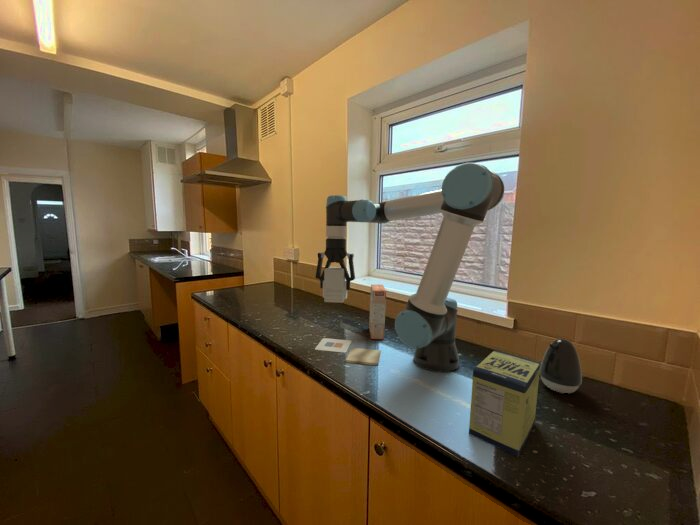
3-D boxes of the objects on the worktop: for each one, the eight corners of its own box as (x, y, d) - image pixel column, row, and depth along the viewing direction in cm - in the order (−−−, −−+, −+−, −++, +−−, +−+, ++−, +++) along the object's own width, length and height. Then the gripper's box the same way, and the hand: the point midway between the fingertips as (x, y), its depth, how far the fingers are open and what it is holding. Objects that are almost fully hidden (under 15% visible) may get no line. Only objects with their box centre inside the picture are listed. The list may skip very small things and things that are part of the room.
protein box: (535, 423, 72) (541, 361, 71) (519, 458, 61) (526, 386, 59) (489, 405, 79) (494, 348, 77) (467, 434, 68) (472, 368, 66)
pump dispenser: (529, 383, 91) (534, 335, 90) (553, 378, 95) (558, 331, 93) (563, 401, 82) (569, 347, 80) (588, 394, 86) (594, 343, 84)
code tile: (351, 341, 122) (351, 340, 122) (345, 352, 110) (345, 352, 110) (323, 338, 124) (323, 338, 124) (314, 349, 112) (314, 349, 112)
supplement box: (345, 298, 118) (346, 266, 117) (343, 303, 111) (343, 269, 110) (326, 297, 119) (327, 266, 118) (323, 302, 112) (324, 268, 110)
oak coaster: (380, 352, 111) (380, 350, 111) (377, 365, 101) (378, 363, 100) (351, 349, 113) (351, 347, 113) (345, 362, 103) (345, 359, 102)
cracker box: (384, 340, 124) (386, 290, 122) (370, 339, 124) (371, 290, 122) (382, 328, 138) (383, 284, 136) (368, 328, 138) (370, 283, 136)
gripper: (364, 238, 114) (362, 297, 117) (312, 236, 118) (312, 293, 120) (361, 238, 107) (359, 301, 109) (306, 237, 111) (306, 297, 113)
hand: (334, 297), depth 115 cm, fingers closed on supplement box, 8 cm apart
